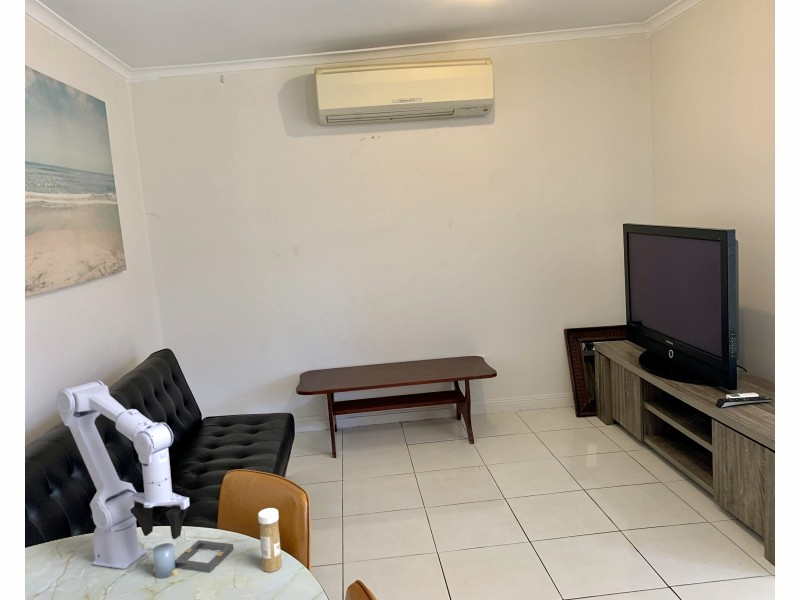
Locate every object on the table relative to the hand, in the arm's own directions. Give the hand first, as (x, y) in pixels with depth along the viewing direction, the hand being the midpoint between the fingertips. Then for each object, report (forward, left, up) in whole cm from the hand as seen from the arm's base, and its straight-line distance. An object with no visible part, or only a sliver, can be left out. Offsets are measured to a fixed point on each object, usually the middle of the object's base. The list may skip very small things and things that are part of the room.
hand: (162, 535), depth 129 cm
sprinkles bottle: (+23, +7, -9) cm, 26 cm away
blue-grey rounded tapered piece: (0, 0, -9) cm, 9 cm away
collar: (+5, +7, -9) cm, 13 cm away
